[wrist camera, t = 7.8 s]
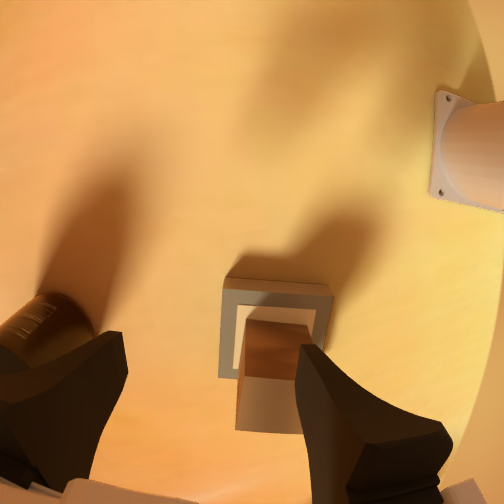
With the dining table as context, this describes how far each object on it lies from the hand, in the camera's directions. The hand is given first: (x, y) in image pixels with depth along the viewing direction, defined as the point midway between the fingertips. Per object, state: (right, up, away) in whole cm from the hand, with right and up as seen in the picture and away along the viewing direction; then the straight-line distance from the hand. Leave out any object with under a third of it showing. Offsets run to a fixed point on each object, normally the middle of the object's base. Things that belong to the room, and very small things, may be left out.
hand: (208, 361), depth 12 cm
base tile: (+3, -1, +11) cm, 11 cm away
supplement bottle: (-14, -2, +11) cm, 18 cm away
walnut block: (+3, -2, +9) cm, 10 cm away
